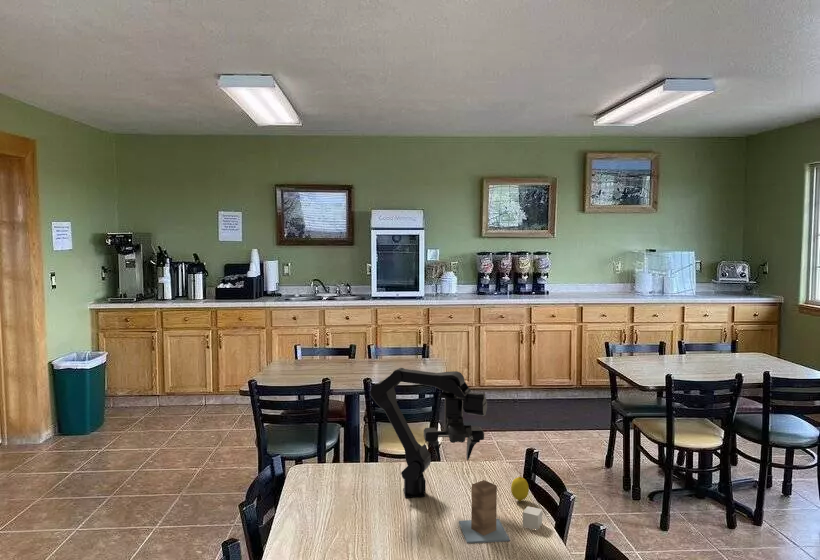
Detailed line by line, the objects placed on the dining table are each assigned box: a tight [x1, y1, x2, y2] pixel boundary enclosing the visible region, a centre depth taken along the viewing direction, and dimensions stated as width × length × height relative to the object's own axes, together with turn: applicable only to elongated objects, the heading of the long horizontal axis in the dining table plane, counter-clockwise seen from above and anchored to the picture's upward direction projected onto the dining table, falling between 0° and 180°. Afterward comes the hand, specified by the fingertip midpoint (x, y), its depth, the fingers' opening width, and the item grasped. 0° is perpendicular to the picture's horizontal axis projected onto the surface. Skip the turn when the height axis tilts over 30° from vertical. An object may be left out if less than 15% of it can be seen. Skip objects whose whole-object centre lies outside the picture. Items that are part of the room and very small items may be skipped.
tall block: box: [470, 479, 498, 535], centre depth 164 cm, size 5×5×13 cm
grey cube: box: [522, 505, 543, 531], centre depth 167 cm, size 4×4×4 cm
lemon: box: [510, 476, 530, 502], centre depth 183 cm, size 6×6×8 cm
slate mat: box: [458, 518, 511, 544], centre depth 164 cm, size 12×12×1 cm
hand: (453, 460), depth 184 cm, fingers open, 9 cm apart
